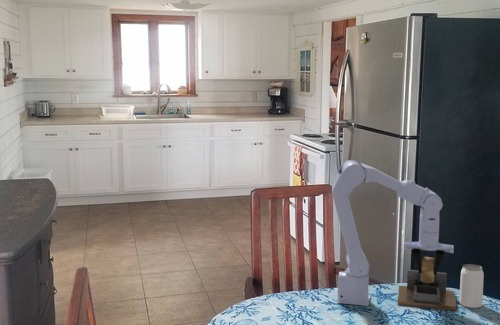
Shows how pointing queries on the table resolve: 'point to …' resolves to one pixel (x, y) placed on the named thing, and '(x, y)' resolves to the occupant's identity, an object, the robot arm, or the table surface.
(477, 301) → the can
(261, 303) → the table surface
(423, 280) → the dowel
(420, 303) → the bracket
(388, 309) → the table surface
